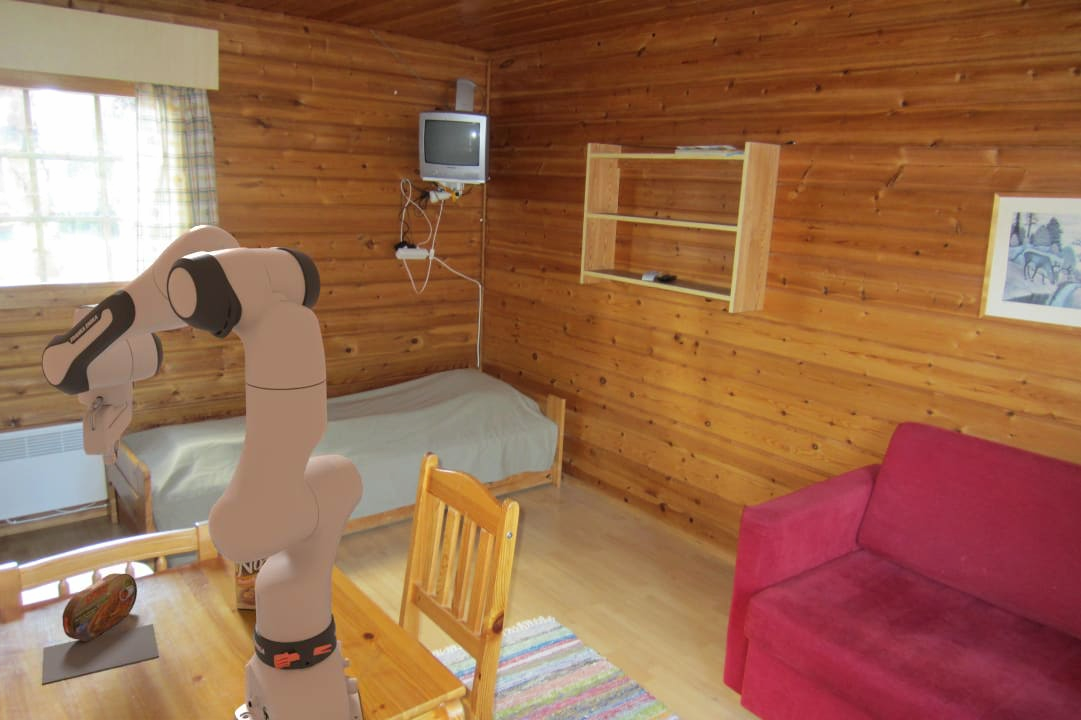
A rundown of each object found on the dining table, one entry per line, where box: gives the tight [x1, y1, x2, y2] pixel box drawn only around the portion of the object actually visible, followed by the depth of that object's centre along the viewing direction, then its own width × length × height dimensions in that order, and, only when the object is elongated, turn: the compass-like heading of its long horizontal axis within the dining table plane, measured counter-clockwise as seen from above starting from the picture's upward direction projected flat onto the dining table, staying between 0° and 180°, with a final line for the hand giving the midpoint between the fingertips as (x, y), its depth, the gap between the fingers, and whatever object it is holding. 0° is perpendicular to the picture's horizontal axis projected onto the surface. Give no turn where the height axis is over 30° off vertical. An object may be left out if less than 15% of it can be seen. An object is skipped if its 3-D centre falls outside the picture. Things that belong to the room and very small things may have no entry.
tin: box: [61, 572, 138, 641], centre depth 145 cm, size 15×3×8 cm, turn 165°
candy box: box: [234, 558, 268, 610], centre depth 154 cm, size 9×4×15 cm, turn 87°
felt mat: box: [41, 623, 160, 685], centre depth 139 cm, size 11×17×1 cm, turn 120°
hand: (112, 461), depth 151 cm, fingers closed
